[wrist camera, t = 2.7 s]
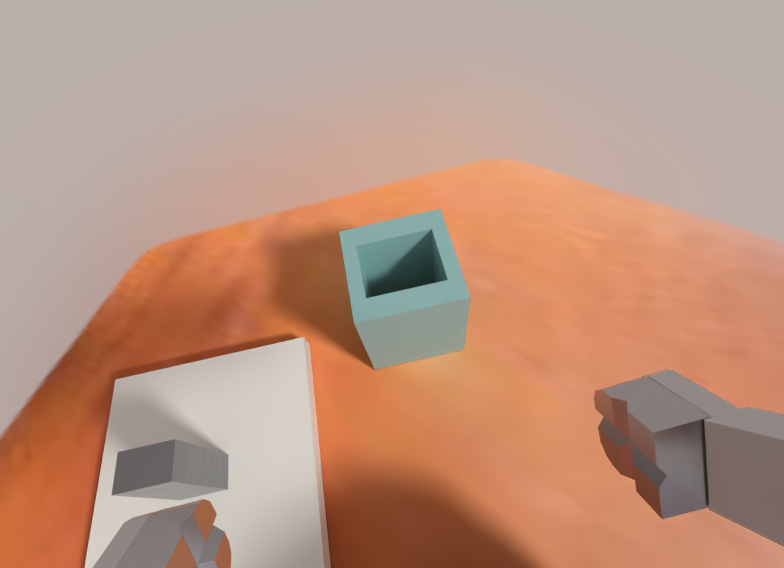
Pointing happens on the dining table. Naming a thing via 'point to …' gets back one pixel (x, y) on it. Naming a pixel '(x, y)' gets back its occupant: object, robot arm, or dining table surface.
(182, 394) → the board
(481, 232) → the dining table surface
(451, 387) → the dining table surface
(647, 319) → the dining table surface
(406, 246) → the teal square hollow box
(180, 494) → the grey rectangular block
